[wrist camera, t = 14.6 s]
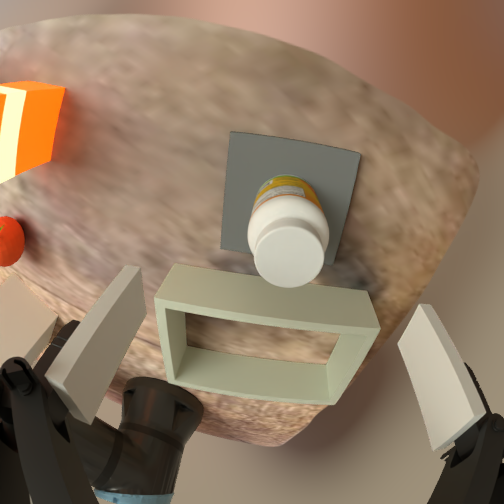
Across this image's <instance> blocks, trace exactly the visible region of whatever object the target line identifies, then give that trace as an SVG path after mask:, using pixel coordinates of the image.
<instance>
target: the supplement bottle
mask: <svg viewBox="0 0 504 504" xmlns="http://www.w3.org/2000/svg"><path fill="white" fill-rule="evenodd" d="M328 242H329V227H328V223H327V220H326V217H325V215H324V212H323V210H322V207H321V205H320V202H319V200H318V197H317V195H316V193H315V191H314V189H313V188H312V187H311V185H310V184H309V183H308V182H307V181H305V180H304V179H302V178H300V177H297V176H294V175H278V176H275V177H273V178H271V179H269V180H268V181H266V182H265V183H264V184H263V185H262V186H261V188H260V189H259V191H258V193H257V195H256V198H255V202H254V206H253V210H252V214H251V218H250V221H249V225H248V243H249V247H250V250H251V252H252V254H253V255H254V262H255V266H256V268H257V271H258V272H259V274H260V275H261V276H262V277H263V278H264V279H265V280H266V281H268V282H269V283H271V284H273V285H276V286H278V287H284V288H294V287H299V286H302V285H305V284H307V283H309V282H310V281H311V280H313V279H314V278H315V277H316V276H317V275H318V273H319V272H320V270H321V268H322V266H323V263H324V253H325V251H326V248H327V246H328Z"/></svg>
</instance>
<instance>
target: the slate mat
mask: <svg viewBox="0 0 504 504" xmlns="http://www.w3.org/2000/svg"><path fill="white" fill-rule="evenodd" d="M360 155H361V154H360V153H358V152H354V151H350V150H346V149H341V148H337V147H332V146H327V145H322V144H317V143H311V142H306V141H300V140H294V139H288V138H281V137H274V136H267V135H259V134H251V133H242V132H230V139H229V149H228V160H227V170H226V182H225V193H224V205H223V218H222V232H221V246H220V249H224V250H231V251H238V252H245V253H252V252H251V250H250V247H249V243H248V225H249V221H250V218H251V214H252V210H253V206H254V202H255V198H256V195H257V193H258V191H259V189H260V188H261V186H262V185H263V184H264V183H265V182H266V181H268V180H269V179H271V178H273V177H275V176H278V175H294V176H297V177H300V178H302V179H304V180H305V181H307V182H308V183H309V184H310V185H311V187H312V188H313V189H314V191H315V193H316V195H317V197H318V200H319V202H320V205H321V207H322V210H323V212H324V215H325V217H326V220H327V223H328V227H329V242H328V246H327V248H326V251H325V253H324V263H323V264H327V265H333V263H334V260H335V256H336V253H337V249H338V246H339V242H340V239H341V235H342V231H343V227H344V224H345V220H346V216H347V212H348V208H349V204H350V200H351V196H352V192H353V187H354V183H355V179H356V174H357V169H358V165H359V160H360Z"/></svg>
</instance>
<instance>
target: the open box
mask: <svg viewBox="0 0 504 504" xmlns="http://www.w3.org/2000/svg"><path fill="white" fill-rule="evenodd" d="M154 302H155V310H156V317H157V324H158V331H159V337H160V343H161V349H162V355H163V360H164V366H165V371H166V376H167V381H168V383H171V384H175V385H179V386H183V387H188V388H193V389H197V390H202V391H207V392H213V393H218V394H224V395H230V396H236V397H243V398H251V399H258V400H267V401H276V402H288V403H301V404H320V405H335V404H336V402H337V401H338V399H339V397H340V396H341V395H342V393H343V392H344V390H345V389H346V387H347V386H348V384H349V383H350V381H351V379H352V378H353V376H354V375H355V373H356V371H357V370H358V368H359V366H360V365H361V363H362V361H363V360H364V358H365V356H366V355H367V353H368V351H369V349H370V348H371V346H372V344H373V342H374V340H375V339H376V337H377V335H378V333H379V331H380V329H381V328H380V325H379V322H378V319H377V316H376V314H375V311H374V308H373V305H372V303H371V300H370V297H369V295H368V292H367V291H364V290H356V289H348V288H340V287H333V286H325V285H317V284H310V283H307V284H305V285H302V286H299V287H294V288H284V287H278V286H276V285H273V284H271V283H269V282H268V281H266V280H265V279H264V278H263V277H260V276H253V275H247V274H240V273H233V272H227V271H220V270H214V269H208V268H201V267H195V266H189V265H183V264H177V263H174V265H173V266H172V268H171V270H170V271H169V273H168V275H167V276H166V278H165V280H164V281H163V283H162V285H161V286H160V288H159V290H158V291H157V293H156V295H155V296H154ZM185 312H188V313H194V314H199V315H205V316H210V317H216V318H222V319H228V320H234V321H241V322H247V323H254V324H261V325H268V326H276V327H284V328H292V329H300V330H309V331H319V332H329V333H340V336H339V338H338V341H337V343H336V345H335V347H334V349H333V351H332V354H331V356H330V358H329V360H328V362H327V364H326V365H323V364H310V363H299V362H289V361H279V360H271V359H263V358H256V357H249V356H242V355H235V354H229V353H223V352H217V351H212V350H206V349H201V348H196V347H191V346H187V339H186V323H185Z"/></svg>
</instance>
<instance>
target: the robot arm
mask: <svg viewBox="0 0 504 504" xmlns="http://www.w3.org/2000/svg"><path fill="white" fill-rule="evenodd" d="M146 314H147V313H146V306H145V299H144V291H143V283H142V274H141V267H136V266H130V265H125V267H124V268H123V269H122V270H121V271H120V273H119V274H118V275H117V276H116V277H115V279H114V280H113V281H112V282H111V284H110V285H109V286H108V287H107V289H106V290H105V291H104V292H103V294H102V295H101V296H100V297H99V299H98V300H97V301H96V303H95V304H94V305H93V307H92V308H91V309H90V310H89V312H88V313H87V314H86V316H85V317H84V318H83V320H82V321H81V322H79V321H76V320H72V321H71V322H69V323H68V324H66V325H65V326H63V328H62V329H61V330H60V332H59V333H58V334H57V337H55V338H54V340H53V341H52V343H51V345H49V347H48V348H47V349H46V351H45V352H44V354H43V355H42V357H41V358H40V359H39V361H38V362H37V364H36V366H35V367H34V369H33V370H32V368H31V366H30V365H29V363H28V362H27V361H26V360H25V359H24V358H22V357H12V358H9V359H7V360H6V361H5V362H4V363H3V365H2V366H1V368H0V504H99V503H98V501H97V498H96V496H97V497H99V498H101V499H104V500H107V501H110V502H113V503H116V504H170V502H171V499H172V496H173V495H174V487H175V483H176V479H177V474H178V471H179V467H180V462H181V458H182V454H183V450H184V447H185V444H186V443H187V441H188V440H189V438H190V437H191V435H192V434H193V432H194V431H195V430H196V428H197V427H198V425H199V424H200V422H201V420H202V415H203V406H202V405H201V403H200V402H199V401H198V400H197V399H196V398H195V397H194V396H193V395H191V394H190V393H188V392H187V391H185V390H183V389H181V388H179V387H177V386H175V385H173V384H170V383H168V382H165V381H162V380H158V379H154V378H148V377H136V378H132V379H130V380H129V381H128V382H127V384H126V386H125V388H124V391H123V398H122V420H121V423H120V426H119V428H118V430H117V429H116V428H114V427H112V426H111V425H109V424H107V423H106V422H104V421H102V420H101V419H99V418H98V417H96V416H95V415H96V413H97V411H98V409H99V406H100V404H101V402H102V400H103V398H104V396H105V394H106V392H107V390H108V387H109V385H110V383H111V381H112V379H113V377H114V375H115V373H116V371H117V369H118V367H119V365H120V363H121V361H122V359H123V357H124V356H125V354H126V352H127V350H128V348H129V346H130V344H131V342H132V340H133V338H134V336H135V335H136V333H137V331H138V329H139V327H140V325H141V323H142V322H143V320H144V318H145V316H146ZM398 347H399V349H400V351H401V354H402V357H403V360H404V362H405V365H406V368H407V370H408V373H409V376H410V379H411V382H412V384H413V387H414V390H415V393H416V396H417V399H418V403H419V406H420V409H421V412H422V415H423V419H424V422H425V425H426V429H427V433H428V436H429V440H430V443H431V447H432V451H436V450H440V449H443V448H446V447H447V446H448V445H450V444H451V443H452V442H453V441H454V442H455V446H454V447H453V448H451V449H450V450H449V451H447V452H446V453H445V454H443V455H442V457H441V458H440V459H443V458H445V457H446V456H447V455H449V457H448V458H446V459H445V461H446V464H445V467H444V469H443V472H442V474H441V476H440V478H439V481H438V483H437V485H436V487H435V489H434V491H433V493H432V495H431V498H430V499H429V501H428V503H427V504H504V463H502V459H503V458H504V418H503V417H502V416H501V415H499V414H497V413H494V414H492V412H491V411H490V408H489V406H488V404H487V401H486V399H485V397H484V394H483V392H482V390H481V388H479V386H480V385H479V383H478V381H476V377H475V375H474V373H473V371H472V370H471V369H470V367H469V366H468V365H467V364H466V363H464V362H463V361H462V359H461V357H460V355H459V353H458V351H457V349H456V347H455V345H454V343H453V342H452V340H451V338H450V336H449V334H448V333H447V331H446V329H445V327H444V326H443V324H442V322H441V321H440V319H439V317H438V316H437V314H436V312H435V311H434V309H433V307H432V306H431V304H419V305H418V307H417V309H416V311H415V313H414V315H413V317H412V319H411V320H410V322H409V324H408V326H407V328H406V330H405V331H404V333H403V335H402V337H401V339H400V341H399V342H398ZM91 486H93V487H95V489H94V492H95V493H94V492H93V490H92V487H91Z"/></svg>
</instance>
